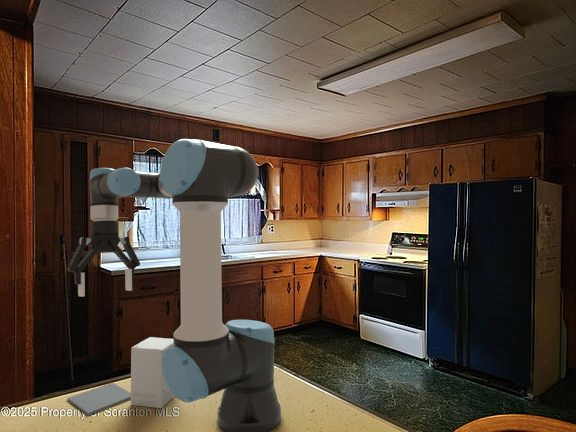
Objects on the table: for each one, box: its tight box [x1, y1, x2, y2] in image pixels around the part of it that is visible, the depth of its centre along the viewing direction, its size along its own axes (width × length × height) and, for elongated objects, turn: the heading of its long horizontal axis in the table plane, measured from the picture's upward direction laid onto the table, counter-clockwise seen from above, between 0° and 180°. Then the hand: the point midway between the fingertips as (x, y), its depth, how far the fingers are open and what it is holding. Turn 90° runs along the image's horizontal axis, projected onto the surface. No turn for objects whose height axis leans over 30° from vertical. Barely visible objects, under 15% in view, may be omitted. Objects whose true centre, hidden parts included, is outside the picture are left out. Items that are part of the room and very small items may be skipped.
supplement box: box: [130, 336, 175, 409], centre depth 103 cm, size 9×9×15 cm
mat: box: [67, 382, 131, 416], centre depth 103 cm, size 12×12×1 cm
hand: (106, 293), depth 114 cm, fingers open, 13 cm apart
